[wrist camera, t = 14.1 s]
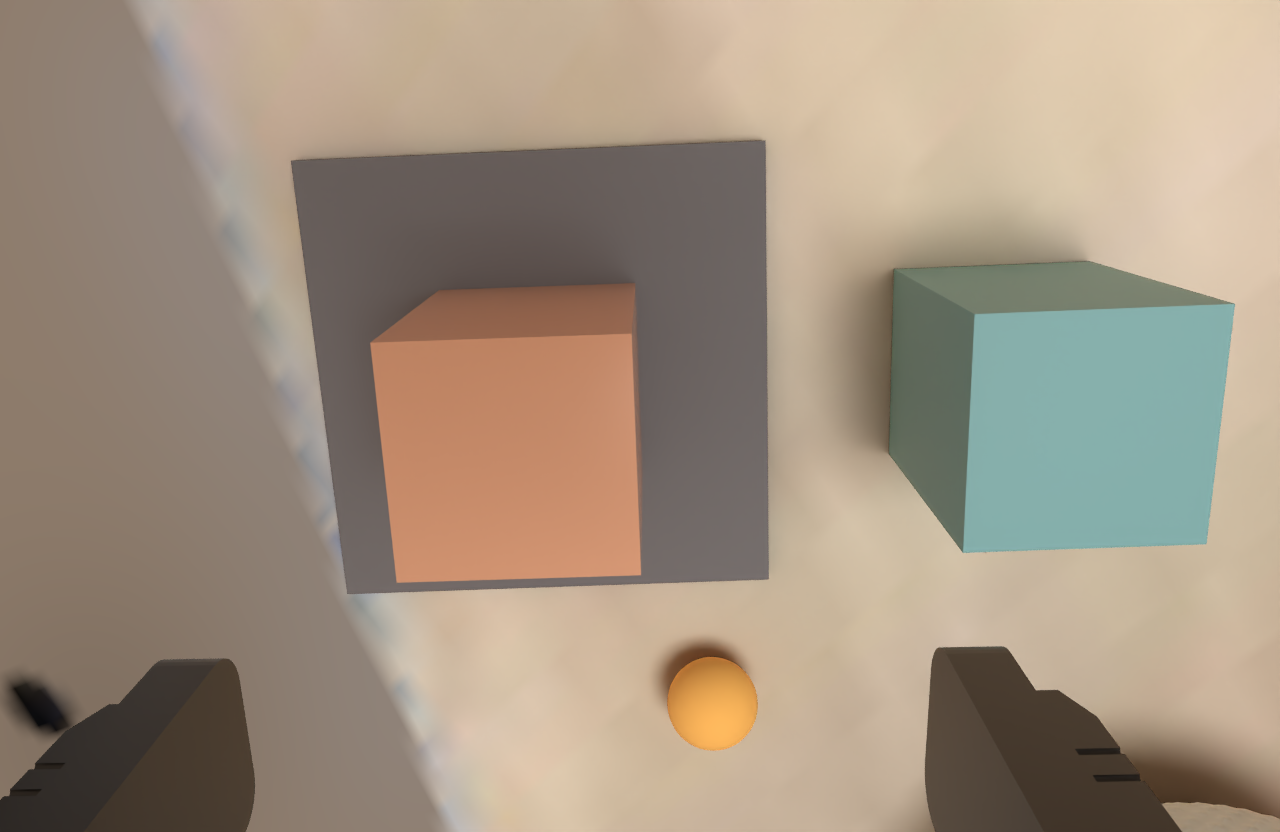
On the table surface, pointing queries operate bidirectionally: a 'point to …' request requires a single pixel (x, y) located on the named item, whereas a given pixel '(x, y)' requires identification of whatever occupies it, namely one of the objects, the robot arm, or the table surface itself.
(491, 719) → the table surface
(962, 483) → the seafoam square box
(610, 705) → the table surface
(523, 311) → the salmon pink cube
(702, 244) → the charcoal mat
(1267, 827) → the cereal bowl
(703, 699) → the orange ball
